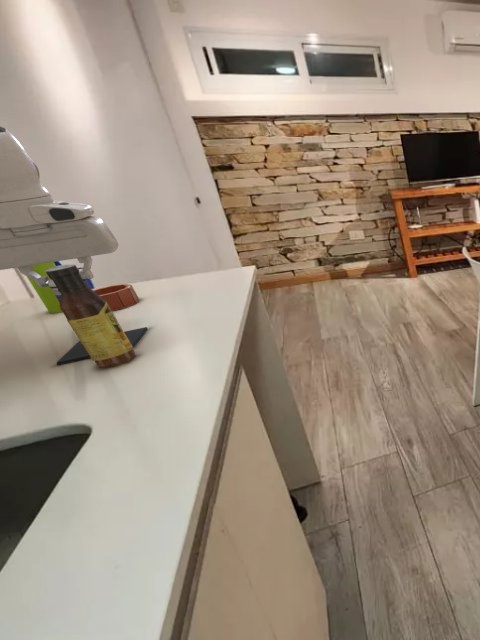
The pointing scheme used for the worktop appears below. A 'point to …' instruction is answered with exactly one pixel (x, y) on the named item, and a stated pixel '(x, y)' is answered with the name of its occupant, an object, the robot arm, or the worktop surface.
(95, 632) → the worktop surface
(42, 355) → the worktop surface
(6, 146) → the robot arm
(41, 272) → the soap dispenser
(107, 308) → the sauce bottle
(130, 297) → the pot
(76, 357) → the mat
